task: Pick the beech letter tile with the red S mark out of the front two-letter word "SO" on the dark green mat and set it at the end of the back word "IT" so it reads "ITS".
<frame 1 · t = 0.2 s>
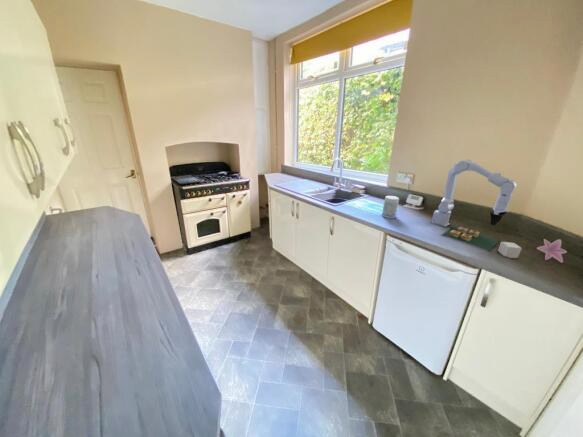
hand: (494, 223, 140), 10 cm above the counter, tool pointing down, fingers open, 7 cm apart
letter s: (454, 235, 145), resting on word mat
letter t: (473, 235, 146), resting on word mat
white cube: (507, 255, 125), on the counter
letter i: (462, 232, 150), resting on word mat
supplement tub: (388, 216, 175), on the counter
letter o: (465, 238, 141), resting on word mat
word mat: (469, 238, 143), on the counter
lily: (547, 258, 123), on the counter
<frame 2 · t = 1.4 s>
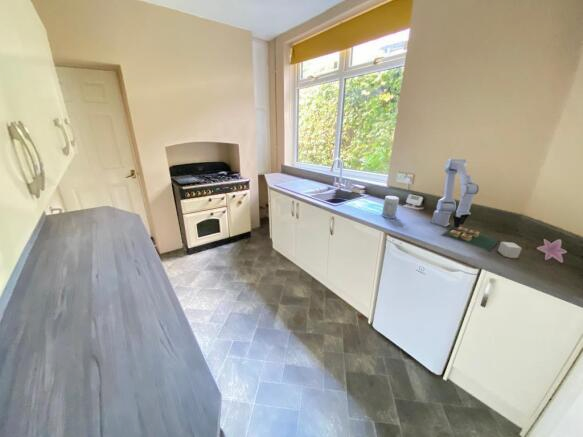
hand: (458, 225, 143), 7 cm above the counter, tool pointing down, fingers open, 7 cm apart
nothing on the counter moved.
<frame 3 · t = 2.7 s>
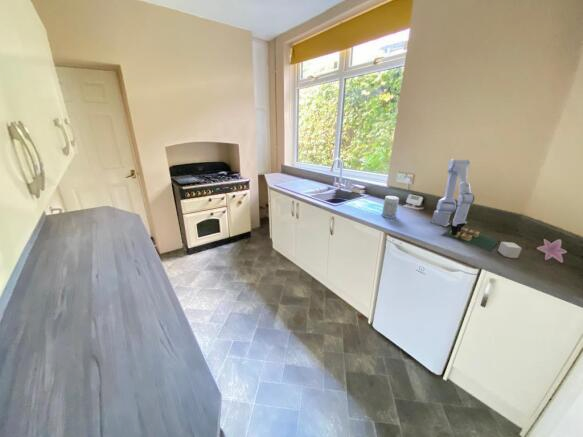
hand: (455, 233, 145), 1 cm above the counter, tool pointing down, fingers closed on letter s, 4 cm apart
letter s: (454, 235, 145), resting on word mat, touching gripper
everything else where it was.
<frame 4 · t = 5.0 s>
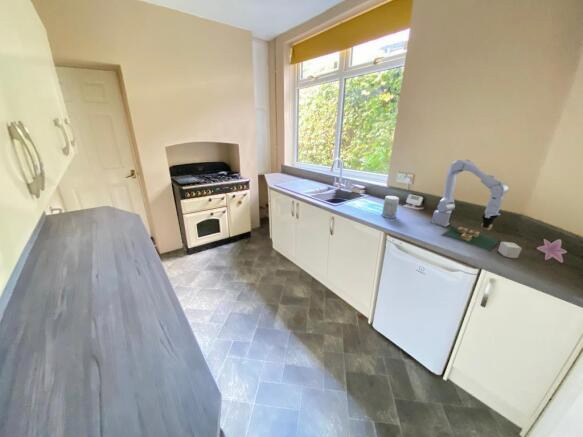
hand: (486, 226, 139), 8 cm above the counter, tool pointing down, fingers closed on letter s, 4 cm apart
letter s: (485, 228, 140), point 7 cm above the counter, touching gripper
everything else where it was.
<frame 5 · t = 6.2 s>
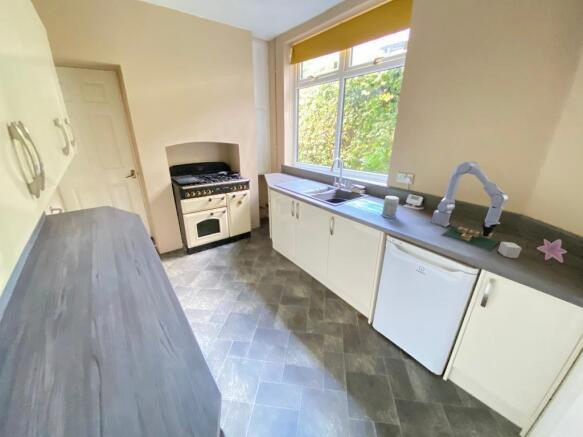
hand: (486, 235, 141), 3 cm above the counter, tool pointing down, fingers closed on letter s, 4 cm apart
letter s: (485, 236, 141), point 2 cm above the counter, touching gripper
everything else where it was.
when the fingers open (1 cm above the counter, at t = 7.2 s): letter s stays where it is, resting on word mat.
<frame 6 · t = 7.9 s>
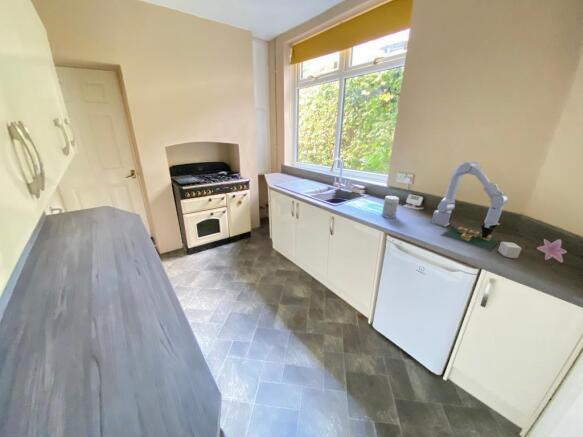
hand: (485, 235, 141), 2 cm above the counter, tool pointing down, fingers open, 7 cm apart
letter s: (484, 238, 142), resting on word mat
everything else where it was.
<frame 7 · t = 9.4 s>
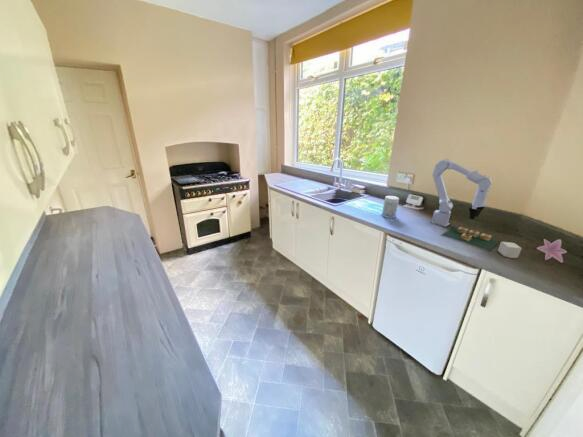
hand: (473, 217, 150), 9 cm above the counter, tool pointing down, fingers open, 7 cm apart
nothing on the counter moved.
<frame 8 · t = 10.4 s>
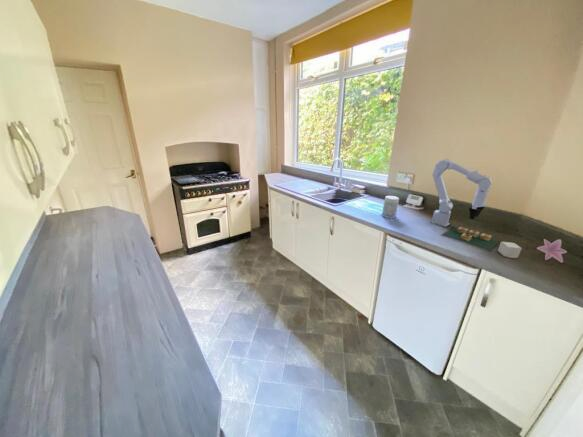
hand: (473, 217, 150), 9 cm above the counter, tool pointing down, fingers open, 7 cm apart
nothing on the counter moved.
at the end: letter s 0.0 cm from the target spot, resting on word mat; letter s tilted 0°; the gripper is holding nothing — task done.
